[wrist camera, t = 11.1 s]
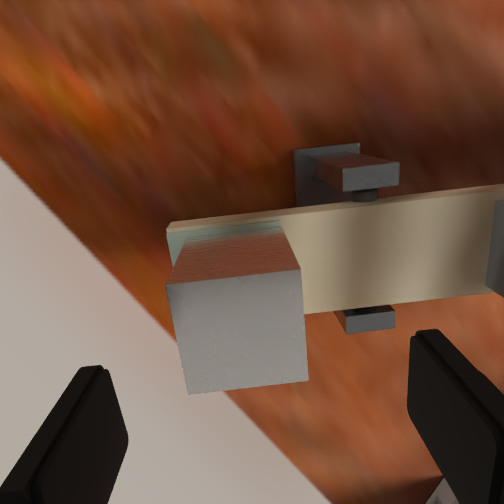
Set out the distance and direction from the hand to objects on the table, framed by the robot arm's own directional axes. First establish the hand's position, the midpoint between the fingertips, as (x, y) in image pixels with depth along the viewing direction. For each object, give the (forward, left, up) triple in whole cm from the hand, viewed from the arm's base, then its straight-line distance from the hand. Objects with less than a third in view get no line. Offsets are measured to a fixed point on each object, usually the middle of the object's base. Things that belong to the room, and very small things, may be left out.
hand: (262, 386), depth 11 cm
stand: (-3, +6, -20) cm, 21 cm away
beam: (-3, +6, -11) cm, 13 cm away
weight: (0, 0, -9) cm, 9 cm away
